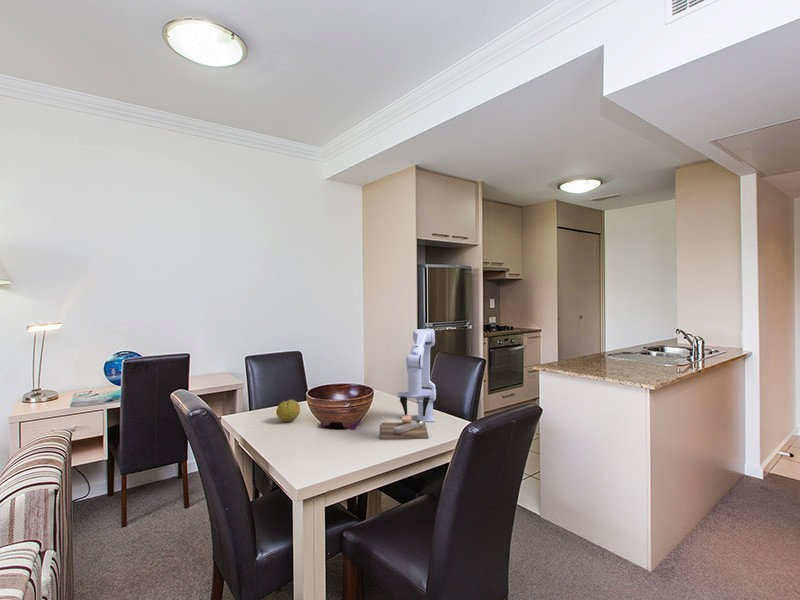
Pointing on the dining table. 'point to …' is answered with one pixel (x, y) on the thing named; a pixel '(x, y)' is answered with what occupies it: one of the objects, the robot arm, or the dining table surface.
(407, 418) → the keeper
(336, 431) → the dining table surface
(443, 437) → the dining table surface
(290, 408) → the fruit
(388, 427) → the base plate
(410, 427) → the link
